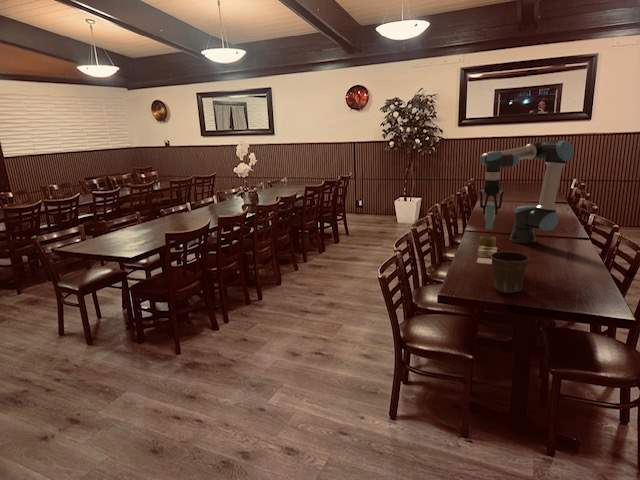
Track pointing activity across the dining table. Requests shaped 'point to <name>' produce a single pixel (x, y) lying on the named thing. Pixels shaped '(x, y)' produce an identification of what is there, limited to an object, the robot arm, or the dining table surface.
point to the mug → (487, 241)
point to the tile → (484, 261)
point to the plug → (489, 216)
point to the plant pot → (508, 271)
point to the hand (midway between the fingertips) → (489, 219)
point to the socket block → (486, 251)
